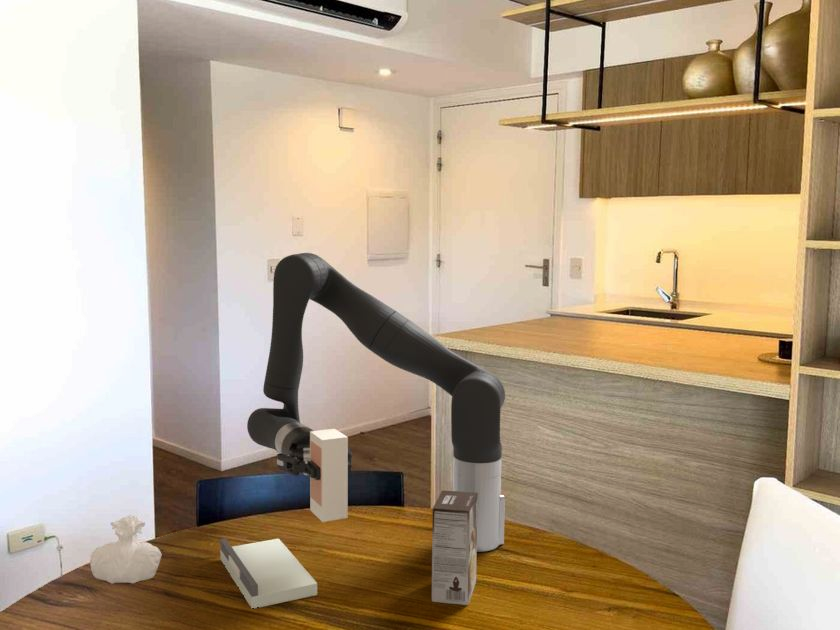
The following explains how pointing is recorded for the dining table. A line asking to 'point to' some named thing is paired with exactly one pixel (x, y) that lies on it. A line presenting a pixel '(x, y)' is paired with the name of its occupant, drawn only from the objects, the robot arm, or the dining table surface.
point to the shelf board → (267, 572)
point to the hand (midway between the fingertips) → (333, 472)
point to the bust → (125, 555)
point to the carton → (329, 475)
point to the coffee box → (454, 547)
